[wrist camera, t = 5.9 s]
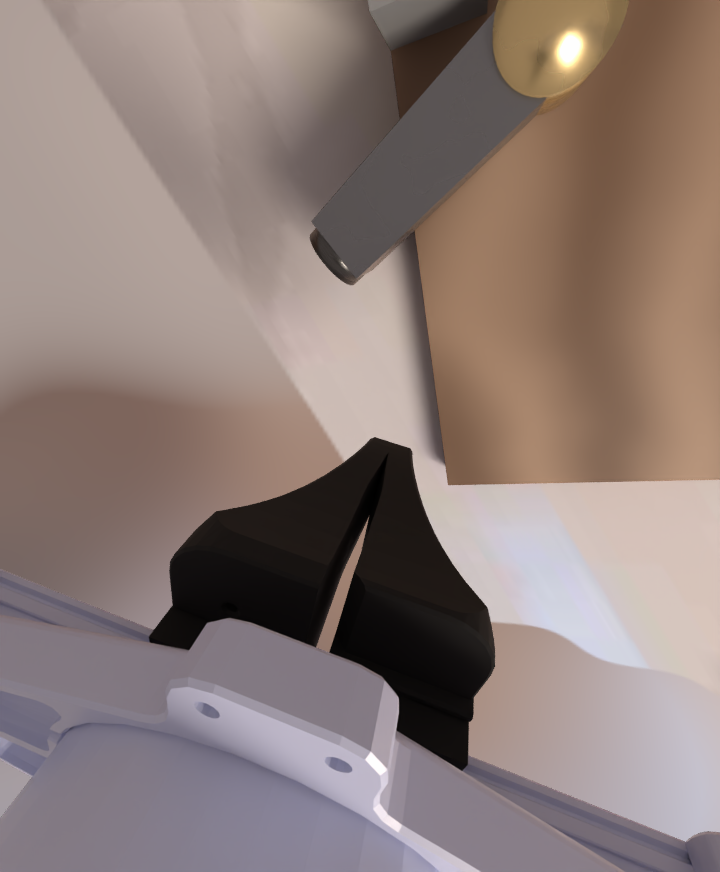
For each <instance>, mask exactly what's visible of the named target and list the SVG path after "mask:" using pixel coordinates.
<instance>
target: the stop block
mask: <svg viewBox="0 0 720 872" xmlns="http://www.w3.org/2000/svg"><path fill="white" fill-rule="evenodd" d="M368 5H369V12H370V14H371V16H372V17H373V19H374V21H375V23H376V25H377V27H378V28H379V30H380V32H381V34H382V36H383V37H384V39H385V41H386V43H387V45H388V46H389V48H390V50H394V49H397V48H399V47H402V46H404V45H407V44H409V43H412V42H414V41H417V40H420V39H422V38H425V37H427V36H430V35H432V34H435V33H438V32H440V31H443V30H445V29H448V28H450V27H453V26H455V25H458V24H461V23H463V22H466V21H468V20H471V19H473V18H476V17H479V16H481V15H484V14H486V13H487V7H488V0H368Z"/></svg>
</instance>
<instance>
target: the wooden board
mask: <svg viewBox="0 0 720 872" xmlns="http://www.w3.org/2000/svg"><path fill="white" fill-rule="evenodd" d="M497 2H498V0H488V7H487V13H486V14H484V15H481V16H479V17H476V18H473V19H471V20H468V21H466V22H463V23H461V24H458V25H455V26H453V27H450V28H448V29H445V30H443V31H440V32H438V33H435V34H432V35H430V36H427V37H425V38H422V39H420V40H417V41H414V42H412V43H409V44H407V45H404V46H402V47H399V48H397V49H394V50H391V55H392V63H393V71H394V78H395V86H396V93H397V101H398V109H399V116H400V119H401V118H402V117H403V116H404V115H405V114H406V112H407V111H408V110H409V109H410V108H411V107H412V105H413V104H414V103H415V102H416V101H417V100H418V99H419V97H420V96H421V95H422V94H423V93H424V92H425V91H426V89H427V88H428V87H429V86H430V85H431V84H432V83H433V81H434V80H435V79H436V78H437V77H438V76H439V74H440V73H441V72H442V71H443V70H444V69H445V68H446V66H447V65H448V64H449V63H450V62H451V61H452V60H453V58H454V57H455V56H456V55H457V54H458V53H459V52H460V50H461V49H462V48H463V47H464V46H465V45H466V43H467V42H468V41H469V40H470V39H471V38H472V37H473V35H474V34H475V33H476V32H477V31H478V30H479V29H480V27H481V26H482V25H483V24H484V23H485V22H486V20H487V19H488V18H489V17H490V16H491V15H492V14H493V12H494V11H495V10H496V6H497ZM622 25H623V26H622V27H621V29H620V31H619V33H618V35H617V37H616V39H615V41H614V43H613V44H612V46H611V48H610V49H609V51H608V52H607V54H606V55H605V56H604V58H603V59H602V60H601V61H600V63H599V64H598V65H597V66H596V68H595V69H594V70H593V71H592V72H591V74H590V75H589V76H588V77H587V78H586V80H585V81H584V82H583V83H582V84H581V86H580V87H579V88H578V89H577V90H576V92H575V93H574V94H573V95H572V96H571V97H570V98H569V99H568V100H567V101H565V102H564V103H563V104H562V105H560V106H559V107H557V108H556V109H554V110H552V111H550V112H548V113H545V114H542V115H537V116H535V117H534V118H533V119H532V120H531V121H530V122H529V123H528V124H527V125H526V126H525V127H524V128H522V129H521V130H520V131H519V132H518V133H517V134H516V135H515V136H514V137H513V138H512V139H511V140H510V141H509V142H508V143H507V144H506V145H504V146H503V147H502V148H501V149H500V150H499V151H498V152H497V153H496V154H495V155H494V156H493V157H492V158H491V159H490V160H489V161H488V162H486V163H485V164H484V165H483V166H482V167H481V168H480V169H479V170H478V171H477V172H476V173H475V174H474V175H473V176H472V177H471V178H469V179H468V180H467V181H466V182H465V183H464V184H463V185H462V186H461V187H460V188H459V189H458V190H457V191H456V192H455V193H454V194H453V195H451V196H450V197H449V198H448V199H447V200H446V201H445V202H444V203H443V204H442V205H441V206H440V207H439V208H438V209H437V210H436V211H434V212H433V213H432V214H431V215H430V216H429V217H428V218H427V219H426V220H425V221H424V222H423V223H422V224H421V225H420V226H419V227H418V228H416V229H415V238H416V245H417V253H418V260H419V268H420V276H421V283H422V291H423V298H424V306H425V314H426V321H427V329H428V336H429V344H430V351H431V359H432V367H433V374H434V382H435V389H436V397H437V405H438V412H439V420H440V427H441V435H442V443H443V450H444V458H445V465H446V473H447V480H448V485H476V484H525V483H574V482H623V481H672V480H720V0H629V4H628V8H627V12H626V15H625V18H624V21H623V24H622Z"/></svg>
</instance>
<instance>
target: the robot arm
mask: <svg viewBox="0 0 720 872" xmlns="http://www.w3.org/2000/svg"><path fill="white" fill-rule="evenodd" d="M369 515H370V516H369ZM368 517H369V520H368V525H367V529H366V534H365V538H364V543H363V547H362V552H361V555H360V557H359V560H358V563H357V566H356V569H355V571H354V574H353V578H352V581H351V584H350V588H349V591H348V594H347V598H346V601H345V604H344V607H343V611H342V614H341V617H340V621H339V624H338V627H337V631H336V634H335V637H334V640H333V643H332V646H331V649H330V652H326V651H324V650H321V649H319V648H316V646H317V643H318V640H319V637H320V634H321V632H322V629H323V626H324V623H325V620H326V617H327V614H328V612H329V609H330V606H331V603H332V600H333V598H334V595H335V592H336V589H337V586H338V584H339V581H340V578H341V576H342V573H343V571H344V568H345V566H346V564H347V562H348V560H349V558H350V556H351V553H352V551H353V549H354V547H355V545H356V543H357V541H358V539H359V536H360V534H361V532H362V530H363V528H364V526H365V524H366V522H367V519H368ZM169 571H170V582H171V591H172V603H173V606H172V607H171V608H170V610H169V611H168V612H167V614H166V615H165V616H164V618H163V619H162V620H161V621H160V623H159V624H158V625H157V627H156V628H155V629H154V630H152V629H150V628H147V627H144V626H142V625H139V624H137V623H135V622H132V621H130V620H127V619H124V618H122V617H120V616H117V615H115V614H112V613H110V612H107V611H105V610H102V609H100V608H97V607H94V606H92V605H90V604H87V603H85V602H82V601H79V600H77V599H74V598H72V597H69V596H67V595H64V594H62V593H59V592H57V591H54V590H52V589H49V588H47V587H44V586H42V585H39V584H37V583H34V582H32V581H29V580H27V579H24V578H22V577H19V576H17V575H14V574H12V573H9V572H7V571H4V570H2V569H0V760H1V761H3V762H5V763H7V764H9V765H11V766H12V767H14V768H16V769H18V770H20V771H21V772H23V773H25V774H27V775H28V776H30V777H32V778H31V779H30V781H29V782H28V783H27V784H26V786H25V787H24V788H23V790H22V791H21V792H20V794H19V795H18V796H17V797H16V798H15V800H14V801H13V802H12V804H11V805H10V806H9V807H8V809H7V810H6V811H5V812H4V814H3V815H2V816H1V818H0V872H720V833H719V832H709V831H708V832H702V833H698V834H696V835H694V836H692V837H691V838H689V839H688V840H687V841H686V842H685V841H682V840H680V839H677V838H675V837H672V836H669V835H667V834H664V833H662V832H659V831H657V830H654V829H652V828H649V827H647V826H644V825H642V824H639V823H637V822H634V821H632V820H629V819H627V818H624V817H622V816H619V815H617V814H614V813H612V812H609V811H607V810H604V809H602V808H599V807H597V806H594V805H592V804H589V803H587V802H584V801H581V800H579V799H577V798H574V797H571V796H569V795H567V794H564V793H562V792H559V791H557V790H554V789H552V788H549V787H547V786H544V785H541V784H539V783H536V782H534V781H531V780H529V779H526V778H524V777H521V776H519V775H516V774H514V773H511V772H509V771H506V770H504V769H501V768H499V767H496V766H494V765H491V764H489V763H486V762H483V761H481V760H478V759H476V758H474V757H471V756H469V755H468V731H469V722H470V721H471V720H472V718H473V703H474V696H475V695H476V694H477V693H478V691H479V690H480V689H481V687H482V686H483V685H484V683H485V682H486V681H487V680H488V678H489V677H490V676H491V674H492V671H493V669H494V667H495V646H494V638H493V632H492V626H491V621H490V617H489V612H488V608H487V606H486V605H485V604H484V603H483V602H482V601H481V599H480V598H479V597H478V596H477V595H476V593H475V592H474V591H473V590H472V589H471V588H470V586H469V585H468V584H467V583H466V582H465V580H464V579H463V578H462V576H461V575H460V574H459V572H458V571H457V569H456V568H455V567H454V565H453V564H452V562H451V561H450V559H449V557H448V556H447V554H446V553H445V551H444V549H443V548H442V546H441V544H440V542H439V541H438V539H437V537H436V535H435V533H434V531H433V529H432V526H431V524H430V522H429V520H428V517H427V515H426V512H425V509H424V507H423V504H422V501H421V498H420V494H419V491H418V487H417V483H416V479H415V474H414V468H413V460H412V451H411V449H410V448H407V447H404V446H401V445H398V444H395V443H391V442H388V441H385V440H382V439H379V438H376V437H374V438H372V439H370V440H369V441H368V442H367V443H366V444H365V445H364V446H363V447H362V448H361V449H360V450H359V451H358V452H356V453H355V454H354V455H353V456H351V457H350V458H349V459H348V460H346V461H345V462H344V463H342V464H341V465H340V466H338V467H336V468H335V469H333V470H332V471H330V472H329V473H327V474H326V475H324V476H323V477H321V478H319V479H317V480H315V481H313V482H312V483H310V484H308V485H306V486H304V487H301V488H299V489H297V490H295V491H292V492H290V493H287V494H285V495H282V496H280V497H277V498H273V499H270V500H267V501H263V502H260V503H256V504H252V505H248V506H243V507H238V508H233V509H228V510H222V511H216V512H215V513H214V514H213V515H212V516H211V517H210V518H208V519H207V520H206V521H205V522H204V523H203V524H202V525H201V526H199V527H198V528H197V529H196V530H195V531H194V532H193V534H192V535H191V536H190V537H189V538H188V539H187V540H186V542H185V543H184V544H183V545H182V546H181V547H180V548H179V550H178V551H177V552H176V553H175V554H174V556H173V558H172V559H171V561H170V570H169Z"/></svg>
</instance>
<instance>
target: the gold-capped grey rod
mask: <svg viewBox="0 0 720 872" xmlns="http://www.w3.org/2000/svg"><path fill="white" fill-rule="evenodd" d="M628 4H629V0H498V2H497V6H496V10H495V11H494V12H493V14H492V15H491V16H490V17H489V18H488V19H487V20H486V22H485V23H484V24H483V25H482V26H481V27H480V29H479V30H478V31H477V32H476V33H475V34H474V35H473V37H472V38H471V39H470V40H469V41H468V42H467V43H466V45H465V46H464V47H463V48H462V49H461V50H460V52H459V53H458V54H457V55H456V56H455V57H454V58H453V60H452V61H451V62H450V63H449V64H448V65H447V66H446V68H445V69H444V70H443V71H442V72H441V73H440V74H439V76H438V77H437V78H436V79H435V80H434V81H433V83H432V84H431V85H430V86H429V87H428V88H427V89H426V91H425V92H424V93H423V94H422V95H421V96H420V97H419V99H418V100H417V101H416V102H415V103H414V104H413V105H412V107H411V108H410V109H409V110H408V111H407V112H406V114H405V115H404V116H403V117H402V118H401V119H400V120H399V122H398V123H397V124H396V125H395V126H394V127H393V128H392V130H391V131H390V132H389V133H388V134H387V135H386V137H385V138H384V139H383V140H382V141H381V142H380V143H379V145H378V146H377V147H376V148H375V149H374V150H373V151H372V153H371V154H370V155H369V156H368V157H367V158H366V159H365V161H364V162H363V163H362V164H361V165H360V166H359V168H358V169H357V170H356V171H355V172H354V173H353V174H352V176H351V177H350V178H349V179H348V180H347V181H346V182H345V184H344V185H343V186H342V187H341V188H340V189H339V190H338V192H337V193H336V194H335V195H334V196H333V197H332V199H331V200H330V201H329V202H328V203H327V204H326V205H325V207H324V208H323V209H322V210H321V211H320V212H319V213H318V215H317V216H316V217H315V218H314V219H313V220H312V221H311V222H312V223H313V224H314V226H315V227H316V229H315V230H314V231H313V232H312V233H311V234H310V241H311V244H312V246H313V248H314V250H315V252H316V253H317V255H318V256H319V258H320V259H321V260H322V262H323V263H324V264H325V265H326V267H327V268H328V269H329V270H330V271H331V272H332V273H333V274H334V275H335V276H336V277H338V278H339V279H340V280H341V281H343V282H344V283H346V284H349V285H354V284H355V283H356V282H357V281H358V280H360V279H361V278H362V277H363V276H364V275H365V274H366V273H368V272H370V271H372V270H373V269H374V268H375V267H376V266H377V265H378V264H379V263H380V262H381V261H383V260H384V259H385V258H386V257H387V256H388V255H389V254H390V253H391V252H392V251H393V250H394V249H395V248H396V247H397V246H398V245H399V244H401V243H402V242H403V241H404V240H405V239H406V238H407V237H408V236H409V235H410V234H411V233H412V232H413V231H414V230H415V229H416V228H418V227H419V226H420V225H421V224H422V223H423V222H424V221H425V220H426V219H427V218H428V217H429V216H430V215H431V214H432V213H433V212H434V211H436V210H437V209H438V208H439V207H440V206H441V205H442V204H443V203H444V202H445V201H446V200H447V199H448V198H449V197H450V196H451V195H453V194H454V193H455V192H456V191H457V190H458V189H459V188H460V187H461V186H462V185H463V184H464V183H465V182H466V181H467V180H468V179H469V178H471V177H472V176H473V175H474V174H475V173H476V172H477V171H478V170H479V169H480V168H481V167H482V166H483V165H484V164H485V163H486V162H488V161H489V160H490V159H491V158H492V157H493V156H494V155H495V154H496V153H497V152H498V151H499V150H500V149H501V148H502V147H503V146H504V145H506V144H507V143H508V142H509V141H510V140H511V139H512V138H513V137H514V136H515V135H516V134H517V133H518V132H519V131H520V130H521V129H522V128H524V127H525V126H526V125H527V124H528V123H529V122H530V121H531V120H532V119H533V118H534V117H535V116H537V115H542V114H545V113H548V112H550V111H552V110H554V109H556V108H557V107H559V106H560V105H562V104H563V103H564V102H565V101H567V100H568V99H569V98H570V97H571V96H572V95H573V94H574V93H575V92H576V90H577V89H578V88H579V87H580V86H581V84H582V83H583V82H584V81H585V80H586V78H587V77H588V76H589V75H590V74H591V72H592V71H593V70H594V69H595V68H596V66H597V65H598V64H599V63H600V61H601V60H602V59H603V58H604V56H605V55H606V54H607V52H608V51H609V49H610V48H611V46H612V44H613V43H614V41H615V39H616V37H617V35H618V33H619V31H620V29H621V27H622V26H623V25H622V24H623V21H624V18H625V15H626V12H627V8H628Z"/></svg>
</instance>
